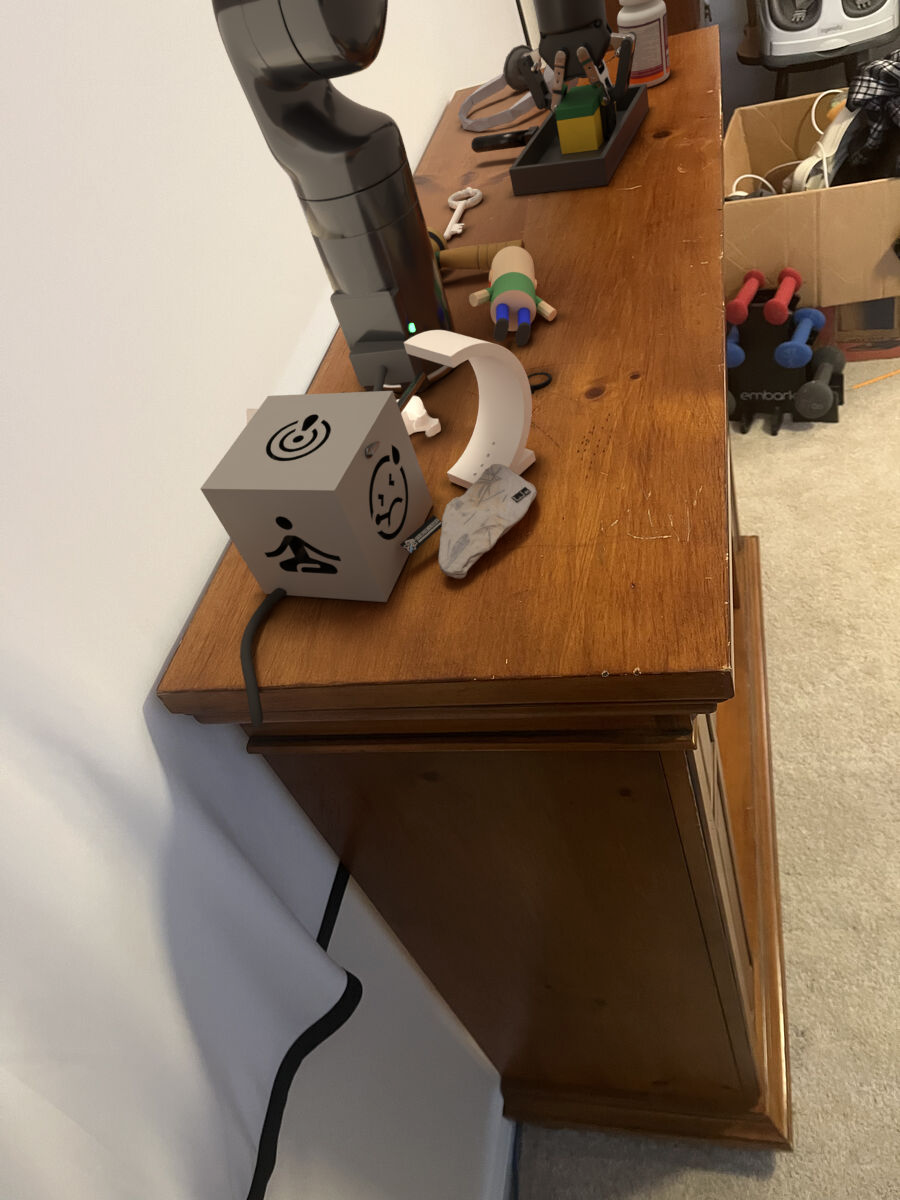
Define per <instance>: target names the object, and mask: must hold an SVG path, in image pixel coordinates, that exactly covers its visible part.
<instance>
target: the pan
mask: <svg viewBox="0 0 900 1200" xmlns="http://www.w3.org/2000/svg"><path fill="white" fill-rule="evenodd" d="M648 93H649V92H648V88H647V84H641V85H635V86H629V87H628V89H627V90H626V91H625V94H624V95H623V97H621V98H617V99H615V101H614V102H616V111H617V115H616V120H617V124H616V128H615V130H614V131H613V133H612V135H611V136H610V138H608V139H604V140H603V142H602V143H601V145H600V147H599V148H598V150H591V151H583V152H576V153H568V154H562V151H561V145H560V140H559V139H558V137H557V133H556V127H555V121H554V115H553V113H552V111H549V113H548V114H547V116H546V117H545V119H544V120H543V121H542V122H541V124H540V125H539V128H538V130H537V131H536V133H535V134H534V135H533V137H532V138H531V140H530V141H529V142H528V144H527V145H526V146H525V147H523V149H522V150H521V152H520V153H519V155H518V156H517V158H516V159H515V160H514V162H513V163H512V164H511V166H510V167H509V169H508V172H509V177H510V181H511V182H510V183H511V187H512V192H513V196H524V195H533V194H542V193H549V192H560V191H561V192H562V191H570V190H578V189H587V188H596V187H605V186H606V187H607V186H608V184H609V183H610V181H611V179H612V177H613V176H614V174H615V173H616V170H617V168H618V167H619V165H620V163H621V161H622V160H623V157H624V156H625V154H626V152H627V150H628V149H629V146H630V144H631V143H632V141H633V140H634V137H635V136H636V134H637V132H638V130H639V129H640V127H641V124H642V123H643V121H644V119H645V118H646V116H647V114H648V112H649V109H650V106H649V94H648Z"/></svg>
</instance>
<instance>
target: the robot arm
mask: <svg viewBox="0 0 900 1200" xmlns="http://www.w3.org/2000/svg"><path fill="white" fill-rule="evenodd" d="M533 1H534V7H535V8H534V9H535V14H536V19H537V26H538V32H539V43H538V45H537V46H538V47H537V48H535V49H533V51H526V52H525V54H524V55H523V56H522V57H521V59H520V60H519V62H518V65H519V68H520V70H521V72H522V75H523V77H524V79H525V81H526V84H527V86H528V88H527V89H528V90H529V92H530V93H531V95H532V97H533V100H534V102H535V104H536V106H535V107H536V108H537V110H540V111H542V110H548V111H549V112H551V111H552V113H553V115H554V121H555V127H556V133H557V137H558V139H559V140H560V138H559V132H558V125H557V118H556V112H555V110H556V109H557V107H558V106H559V104H560V103H561V102H562V100H563V99H564V97H565V96H566V95H567V91H568V85H569V82H570V81H571V80H573V79H575V78H579V79H588V81H589V84H591V86H592V88H594V89H595V91H596V94H597V96H598V98H599V101H600V103H601V106H600V107H599V108H600V116H601V125H602V133H603V139H608V138H610V136H611V135H612V133H613V131H614V130H615V128H616V124H617V120H616V111H615V102H614V101H615V99H617V98H621V97H623V95H624V94H625V91H626V90H627V89H628V87H629V83H630V77H631V71H632V64H633V58H634V51H635V45H636V38H637V36H636V34H635V33H634V32H632V31H631V32H629V33H628V34H619V33H618V32H613V30H612V28H611V26H610V25H609V22H608V20H607V19H608V18H607V11H606V2H605V0H533ZM211 6H212V11H213V14H214V19H215V22H216V27H217V29H218V33H219V35H220V39H221V41H222V45H223V47H224V49H225V53H226V54H227V57H228V59H229V62H230V65H231V66H232V67H231V68H232V69H233V71H234V73H235V76H236V78H237V81H238V82H239V85H240V87H241V89H242V92H243V94H244V96H245V98H246V100H247V103H248V105H249V107H250V109H251V111H252V115H253V116H254V118H255V120H256V123H257V125H258V127H259V129H260V132H261V134H262V137H263V139H264V141H265V143H266V146H267V148H268V150H269V152H270V153H271V155H272V157H273V159H274V160H275V161H276V163H277V164H278V166H279V167H280V168H281V169H282V171H284V173H285V174H286V175H287V176H288V178H289V180H290V183H291V184H292V187H293V189H294V192H295V194H296V197H297V200H298V203H299V205H300V208H301V210H302V213H303V216H304V219H305V221H306V224H307V226H308V228H309V232H310V234H311V237H312V240H313V242H314V244H315V247H316V250H317V254H318V256H319V258H320V260H321V263H322V266H323V268H324V271H325V274H326V277H327V279H328V281H329V284H330V286H331V290H332V294H331V295H330V298H329V301H330V303H331V306H332V308H333V311H334V313H335V316H336V319H337V321H338V324H339V326H340V329H341V333H342V334H343V337H344V340H345V342H346V344H347V347H348V350H349V354H348V359H349V361H350V363H351V367H352V369H353V371H354V374H355V376H356V379H357V382H358V384H359V387H360V388H364V392H375V391H393V393H404V392H405V391H406V389H407V388H408V387H409V385H410V384H411V382H412V381H413V380H414V378H415V377H416V375H417V374H418V373H419V372H420V371H422V372H424V373H425V374H426V377H425V379H424V380H423V382H422V383H421V385H420V386H419V388H418V389H417V391H416V392H415V393H424V392H425V391H426V390H427V389H428V387H429V386H430V385H431V384H433V383H435V382H436V381H438V380H440V379H441V378H443V377H445V376H446V375H447V374H449V373H450V372H451V371H452V370H453V369H454V368H453V367H449V366H446V365H443V364H440V363H436V362H433V361H430V360H427V359H423V358H420V357H417V356H413V355H410V354H407V352H406V349H405V346H404V342H405V341H407V340H408V339H410V338H412V337H413V336H415V335H417V334H420V333H423V332H426V331H431V330H445V331H449V332H453V333H457V334H458V332H457V329H456V325H455V321H454V317H453V314H452V310H451V307H450V304H449V299H448V297H447V293H446V290H445V286H444V283H443V278H442V276H441V272H440V271H439V268H438V265H437V261H436V258H435V254H434V250H433V247H432V243H431V240H430V236H429V233H428V229H427V227H428V226H427V223H426V222H427V221H426V218H425V216H424V212H423V209H422V205H421V201H420V198H419V193H418V189H417V186H416V182H415V180H414V175H413V172H412V168H411V165H410V162H409V158H408V154H407V150H406V147H405V143H404V140H403V136H402V132H401V131H400V126H399V125H398V123H397V122H396V120H395V119H393V117H391V116H390V115H389V114H387V113H386V112H382V111H380V110H376V109H374V108H371V107H368V106H365V105H362V104H361V103H358V102H357V101H354V99H353V100H352V99H351V98H349V97H348V96H346V95H345V94H344V93H342V92H341V91H340V90H339V89H338V88H336V87H335V85H334V84H333V83H332V81H331V80H332V79H337V78H341V77H342V78H343V77H348V76H352V75H355V74H359V73H360V72H363V71H365V70H367V69H369V67H370V66H372V64H373V63H374V62H375V61H376V59H377V57H379V53H380V52H381V49H382V45H383V43H384V39H385V33H386V27H387V19H388V8H389V0H211ZM610 46H611V47H612V48H613V54H614V55H615V57H616V58H618V61H617V62H618V63H617V69H616V77H615V83H614V84H613V83H612V80H611V77H610V72H609V68H608V67H607V64H606V63H605V62H606V61H605V59H604V58H605V56H606V54H607V52H608V49H609V47H610ZM542 60H543V62H545V64H546V65H547V64H548V66H549V67H550V68H551V69H552V70H553V71H554V77H553V86H552V92H553V94H551V93H550V91H549V89H548V86H547V84H546V82H545V79H544V77H543V72H542V70H541V69H542V66H543V63H542ZM286 594H287V592H286V590H284V589H282V588H277V589H275V590H274V591H273V592H272V593H271V594H268V596H266V597H265V598H264V599H263V600H262V601H261V603H260V604H259V606H258V607H257V608H256V610H255V611H253V614H252V616H251V617H250V619H249V620H248V623H247V624H246V627H245V629H244V631H243V633H242V638H241V641H240V649H239V657H240V665H241V666H240V667H241V671H242V676H243V682H244V687H245V691H246V696H247V703H248V709H249V716H250V722H251V726H252V728H258V727H261V725H262V724H263V723H264V715H263V708H262V701H261V695H260V690H259V685H258V680H257V675H256V670H255V665H254V660H253V654H252V653H253V651H252V650H253V643H254V639H255V637H256V633H257V631H258V629H259V627H260V625H261V623H262V622H263V620H264V619H265V617H266V616H267V614H268V613H270V610H271V609H272V608H273V607H274V606H275V605H276V604H277V603H278V602H279V601H280V600H281V599H283V598H284V596H287V595H286Z"/></svg>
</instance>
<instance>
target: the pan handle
mask: <svg viewBox="0 0 900 1200" xmlns="http://www.w3.org/2000/svg"><path fill="white" fill-rule="evenodd" d="M539 127H540V125H533V126H529V127H528V128H527V129H520V130H514V131H507V132H500V133H493V134H485V135H480V136H479V135H478V136H476V137H474V138H473V139H472V140H471V143H470V144H471V145H470V147H471V149H472V151H473V152H474V153H476V154H481V153H486V152H487V153H489V152H495V151H503V150H509V149H515V148H525V147H526V145H527V144H528V142H529V141H530V140H531V138H532V137H533V135H534V134H535V133H536V131H537V130H538V128H539Z"/></svg>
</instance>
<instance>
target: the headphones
mask: <svg viewBox="0 0 900 1200" xmlns="http://www.w3.org/2000/svg"><path fill="white" fill-rule="evenodd" d="M533 50H534V49H533V48H532V47H531V46H530V45H527V44H526V45H525V44H520V45H517V46H513V47H512V48H511V49H510V51H509V53H508V54H507V56H506V57H505V61H504V62H503V67H502V73H500V74H499V75H497V76H495V77H494V78H492V79H490V80H488V81H486V82H484V83H483V84H482V85H480V86H479V87H478V88H477V89H476V90H475V91H473V92H472V93H471V94H469V95H468V96H467V97H466V98H465V99H464V101H463V102H462V104H461V105H460V108H459V110H458V115H457V116H458V120H459V122H460V123H461V126H462V129H463V130H466V131H473V132H483V131H486V130H490V129H493V128H495V127H499V126H503V125H506V124H507V125H508V124H510V123H512V122H514V121H516V119H518V118H520V117H521V116H523V115H525V114H527V113H529V112H530V111H531V110H532V109H534V108H535V107H537V106H536V104H535V102H534V100H533V97H532V95H531V93H530V91H528V92H527V93H526V94H525V95H524V96H523V97H522V98H520V99H519V100H518V101H516V102H515V103H514V104H513V105H512V106H510V108H508V109H505V110H502V111H500V112H497V113H494V114H493V115H491V116H490V115H489V116H487V117H480V118H476V119H471V118H467V116H468V114H469V113H470V112H471V110H472V109H473V107H474V106H476V105H477V104H480V103H481V102H483V101H484V100H486V99H488V98H490V97H491V96H493V95H496V94H498V93H499V92H500V91H502V90H504V89H505V88H506V87H507V86H509V88H511V89H512V90H513V91H518V92H519V91H524V90H527V89H529V88H528V86H527V84H526V81H525V79H524V77H523V75H522V72H521V70H520V68H519V65H518V62H519V60H520V59H521V57H522V56H523V55H524V54H525V52H526V51H533ZM615 57H616V56H615V54H614V55H613V56H612V57H611V58H610V59H609V60H607V61H605V64H606V63H609V62H611V61H612V60H614V59H615ZM542 75H543V77H544V79H545V82H546V84H547V86H548V89H549V91H550V93H551V94H553V92H552V86H553V77H554V71H553V70H552V69H551V68H550V67H549V66H548V64H547V63H546V65H545V66H544V69H543V72H542ZM579 79H580V78H575V79H573V80H571V81H570V82H569V85H568V91H567V93H568V92H569V90H570V89H571V88H572V87H577V86H578V84H579Z"/></svg>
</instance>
